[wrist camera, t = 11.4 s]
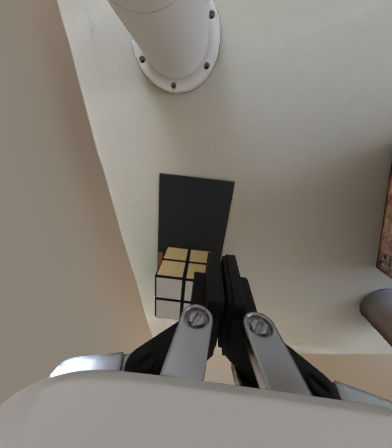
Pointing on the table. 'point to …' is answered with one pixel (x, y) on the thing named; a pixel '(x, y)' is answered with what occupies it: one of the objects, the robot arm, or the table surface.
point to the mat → (193, 213)
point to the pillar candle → (379, 312)
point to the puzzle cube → (176, 280)
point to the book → (386, 236)
